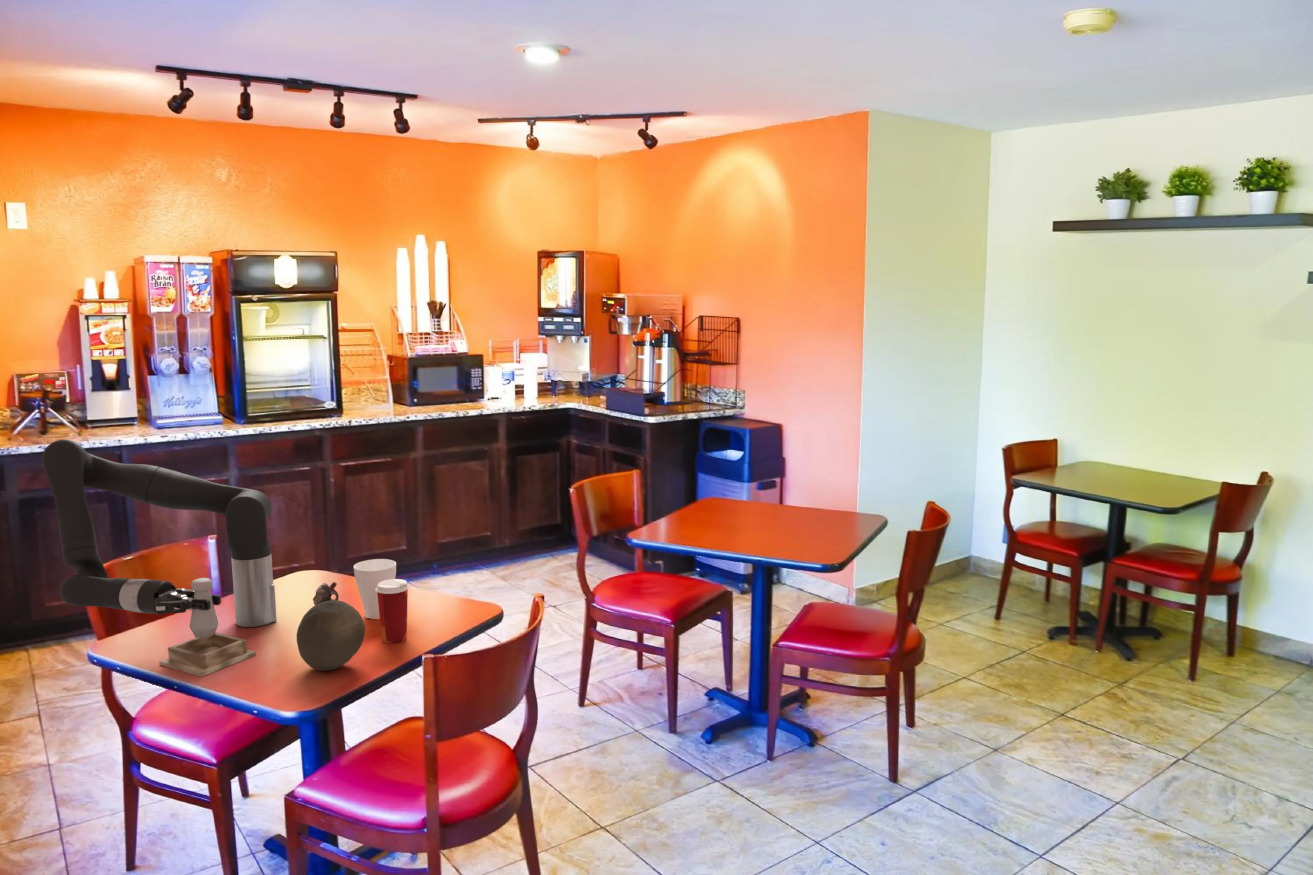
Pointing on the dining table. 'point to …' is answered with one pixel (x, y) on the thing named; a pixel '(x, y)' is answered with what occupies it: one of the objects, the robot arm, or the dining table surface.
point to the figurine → (325, 593)
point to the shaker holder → (207, 654)
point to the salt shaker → (203, 620)
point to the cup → (372, 582)
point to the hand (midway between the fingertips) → (214, 602)
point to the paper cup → (393, 609)
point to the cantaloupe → (330, 635)
